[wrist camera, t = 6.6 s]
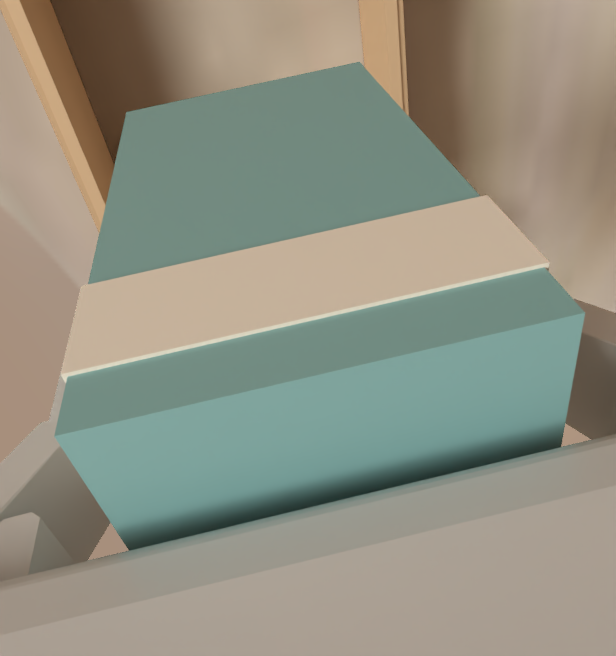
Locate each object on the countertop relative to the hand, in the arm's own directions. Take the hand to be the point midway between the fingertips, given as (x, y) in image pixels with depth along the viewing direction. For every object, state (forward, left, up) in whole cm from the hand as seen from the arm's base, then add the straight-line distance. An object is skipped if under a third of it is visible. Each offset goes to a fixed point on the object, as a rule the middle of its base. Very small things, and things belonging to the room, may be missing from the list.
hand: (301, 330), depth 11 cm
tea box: (0, 0, -5) cm, 5 cm away
